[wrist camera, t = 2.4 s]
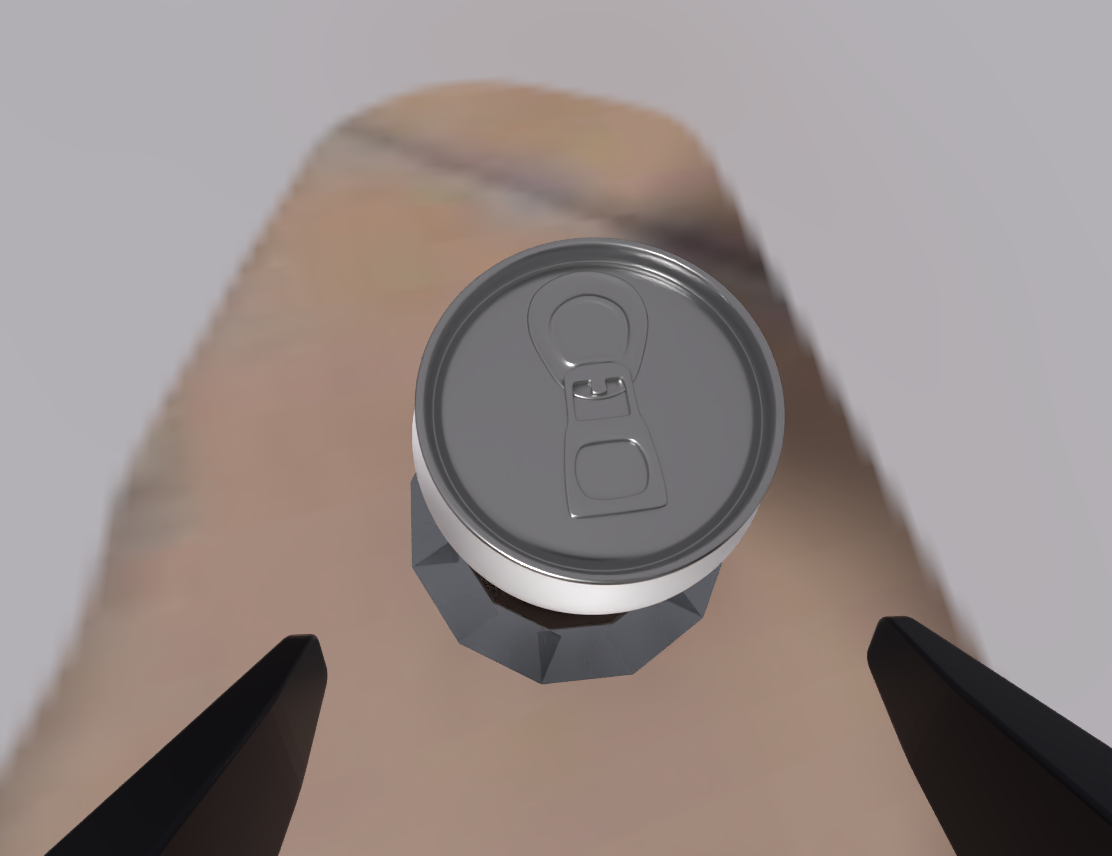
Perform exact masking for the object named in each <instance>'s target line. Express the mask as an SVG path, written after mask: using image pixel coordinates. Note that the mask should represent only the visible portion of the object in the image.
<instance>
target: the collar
mask: <svg viewBox="0 0 1112 856" xmlns="http://www.w3.org/2000/svg"><path fill="white" fill-rule="evenodd" d="M411 527H412V568H413V569H414V571H415V573H416V574H417V576H418V577H419V579H420V581H421V582H422V584H423V585H424V587H425V589H426V590H427V592H428V594H429V595H430V597H431V598H432V600H433V602H434V603H435V605H436V607H437V608H438V610H439V611H440V613H441V615H442V616H443V618H444V620H445V621H446V623H447V624H448V626H449V628H450V629H451V631H452V633H453V634H454V636H455V637H456V639H457V641H458V642H459V643H460V644H462V645H464V646H466V647H468V648H470V649H472V650H474V651H476V652H478V653H480V654H482V655H484V656H486V657H488V658H490V659H492V660H494V661H496V662H498V663H500V664H502V665H504V666H506V667H508V668H510V669H512V670H514V671H516V672H518V673H520V674H522V675H524V676H526V677H528V678H530V679H532V680H534V681H536V682H538V683H540V684H549V683H558V682H567V681H576V680H586V679H595V678H604V677H613V676H622V675H631V674H634V673H635V672H637V671H638V670H639V669H640V668H641V667H643V666H644V665H645V664H646V663H648V662H649V661H650V660H651V659H653V658H654V657H655V656H656V655H658V654H659V653H660V652H661V651H662V650H664V649H665V648H666V647H667V646H669V645H670V644H671V643H672V642H674V641H675V640H676V639H677V638H678V637H680V636H681V635H682V634H683V633H685V632H686V631H687V630H688V629H690V628H691V627H692V626H693V625H695V624H696V623H697V622H698V621H699V620H701V619H702V617H703V616H704V613H705V610H706V607H707V604H708V602H709V599H710V596H711V593H712V590H713V587H714V584H715V581H716V579H717V576H718V573H719V570H720V567H721V564H722V563H721V564H719V565H718V566H717V567H716V568H715V569H714V570H713V571H712V572H710V573H709V574H708V575H707V576H705V577H704V578H703V579H701V580H700V581H698V582H697V583H695V584H694V585H692V586H691V587H689V588H688V589H686V590H684V591H683V592H681V593H679V594H677V595H675V596H673V597H671V598H669V599H667V600H664V601H662V602H659V603H657V604H654V605H651V606H648V607H644V608H640V609H636V610H632V611H627V612H621V613H620V614H618V615H617V616H616V617H615V618H613V619H612V620H611V621H609V622H607V623H598V624H588V625H578V626H569V627H559V628H548V627H546V626H543V625H541V624H539V623H537V622H535V621H533V620H531V619H529V618H527V617H525V616H523V615H521V614H519V613H517V612H515V611H513V610H510V609H508V608H506V607H504V606H502V605H500V604H498V603H496V601H495V600H494V598H493V597H492V595H491V594H490V592H489V590H488V589H487V587H486V586H485V584H484V583H483V581H482V580H481V578H480V577H479V575H478V574H477V572H476V571H475V570H474V569H473V568H472V567H471V566H469V565H468V564H467V563H466V562H465V561H464V560H463V559H462V558H461V556H460V555H459V554H458V553H457V552H456V551H455V550H454V549H453V547H452V546H451V545H450V544H449V542H448V541H447V540H446V538H445V537H444V535H443V534H442V532H441V531H440V529H439V528H438V526H437V524H436V522H435V521H434V519H433V517H432V515H431V513H430V511H429V509H428V506H427V504H426V502H425V499H424V497H423V494H422V491H421V489H420V485H419V482H418V478H417V474H416V473H415V475H414V477H413V479H412V480H411Z"/></svg>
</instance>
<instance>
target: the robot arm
mask: <svg viewBox="0 0 1112 856" xmlns="http://www.w3.org/2000/svg"><path fill="white" fill-rule="evenodd" d="M867 661H868V665H869V668H870V671H871V673H872V676H873V678H874V680H875V683H876V685H877V688H878V690H879V693H880V695H881V698H882V700H883V702H884V705H885V707H886V710H887V712H888V715H889V717H890V719H891V722H892V724H893V727H894V729H895V732H896V734H897V736H898V739H899V741H900V744H901V746H902V749H903V751H904V753H905V755H906V758H907V760H908V762H909V764H910V766H911V768H912V770H913V772H914V774H915V776H916V778H917V780H918V782H919V784H920V786H921V788H922V790H923V792H924V794H925V796H926V798H927V800H928V801H929V803H930V805H931V807H932V809H933V811H934V813H935V815H936V817H937V819H938V821H939V822H940V824H941V826H942V828H943V830H944V832H945V834H946V836H947V838H948V840H949V842H950V844H951V845H952V847H953V849H954V851H955V853H956V855H957V856H1112V748H1111V747H1109V746H1108V745H1106V744H1105V743H1103V742H1101V741H1100V740H1098V739H1097V738H1095V737H1094V736H1092V735H1091V734H1089V733H1088V732H1086V731H1085V730H1083V729H1081V728H1080V727H1079V726H1077V725H1075V724H1074V723H1072V722H1071V721H1069V720H1068V719H1066V718H1065V717H1063V716H1062V715H1060V714H1058V713H1057V712H1056V711H1054V710H1052V709H1051V708H1049V707H1048V706H1046V705H1045V704H1043V703H1042V702H1040V701H1039V700H1037V699H1036V698H1034V697H1033V696H1031V695H1029V694H1028V693H1026V692H1025V691H1023V690H1022V689H1020V688H1019V687H1017V686H1016V685H1014V684H1013V683H1011V682H1009V681H1008V680H1006V679H1005V678H1003V677H1002V676H1000V675H999V674H997V673H996V672H994V671H993V670H991V669H990V668H988V667H986V666H985V665H983V664H982V663H980V662H979V661H977V660H976V659H974V658H973V657H971V656H970V655H968V654H967V653H965V652H963V651H962V650H960V649H959V648H957V647H956V646H954V645H953V644H951V643H950V642H948V641H947V640H945V639H943V638H942V637H940V636H939V635H937V634H936V633H934V632H933V631H931V630H930V629H928V628H927V627H925V626H924V625H922V624H920V623H919V622H917V621H916V620H914V619H912V618H910V617H907V616H890V617H883V618H882V619H880V620H879V622H878V624H877V626H876V629H875V632H874V634H873V637H872V640H871V643H870V645H869V648H868V651H867ZM326 684H327V667H326V664H325V660H324V657H323V654H322V650H321V647H320V643H319V640H318V638H317V637H316V636H315V635H313V634H298V635H289V636H287V637H286V638H284V639H283V640H282V641H281V642H280V643H278V644H277V645H276V646H275V647H274V648H273V649H272V650H271V651H270V652H268V653H267V654H266V655H265V656H264V657H263V658H262V659H261V660H260V661H259V662H257V663H256V664H255V665H254V666H253V667H252V668H251V669H250V670H249V671H247V672H246V673H245V674H244V675H243V676H242V677H241V678H240V679H239V680H237V681H236V682H235V683H234V684H233V685H232V686H231V687H230V688H229V689H228V690H226V691H225V692H224V693H223V694H222V695H221V696H220V697H219V698H218V699H216V700H215V701H214V702H213V703H212V704H211V705H210V706H209V707H208V708H207V709H205V710H204V711H203V712H202V713H201V714H200V715H199V716H198V717H197V718H195V719H194V720H193V721H192V722H191V723H190V724H189V725H188V726H187V727H186V728H184V729H183V730H182V731H181V732H180V733H179V734H178V735H177V736H176V737H174V738H173V739H172V740H171V741H170V742H169V743H168V744H167V745H166V746H164V747H163V748H162V749H161V750H160V751H159V752H158V753H157V754H156V755H155V756H153V757H152V758H151V759H150V760H149V761H148V762H147V763H146V764H145V765H143V766H142V767H141V768H140V769H139V770H138V771H137V772H136V773H135V774H134V775H132V776H131V777H130V778H129V779H128V780H127V781H126V782H125V783H124V784H122V785H121V786H120V787H119V788H118V789H117V790H116V791H115V792H114V793H112V794H111V795H110V796H109V797H108V798H107V799H106V800H105V801H104V802H103V803H101V804H100V805H99V806H98V807H97V808H96V809H95V810H94V811H93V812H91V813H90V814H89V815H88V816H87V817H86V818H85V819H84V820H83V821H82V822H80V823H79V824H78V825H77V826H76V827H75V828H74V829H73V830H72V831H70V832H69V833H68V834H67V835H66V836H65V837H64V838H63V839H62V840H61V841H59V842H58V843H57V844H56V845H55V846H54V847H53V848H52V849H51V850H49V851H48V852H47V853H46V854H45V855H44V856H278V855H279V852H280V849H281V846H282V843H283V840H284V837H285V835H286V832H287V829H288V826H289V823H290V820H291V817H292V814H293V812H294V809H295V806H296V803H297V800H298V796H299V793H300V790H301V787H302V783H303V779H304V776H305V772H306V768H307V764H308V759H309V755H310V751H311V747H312V743H313V739H314V735H315V730H316V726H317V722H318V718H319V714H320V710H321V705H322V701H323V697H324V693H325V689H326Z"/></svg>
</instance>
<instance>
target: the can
mask: <svg viewBox="0 0 1112 856" xmlns="http://www.w3.org/2000/svg"><path fill="white" fill-rule="evenodd" d="M784 426H785V408H784V397H783V390H782V385H781V380H780V376H779V372H778V369H777V365H776V363H775V360H774V357H773V355H772V352H771V350H770V347H769V345H768V343H767V341H766V339H765V337H764V336H763V334H762V332H761V330H760V329H759V327H758V325H757V324H756V322H755V321H754V319H753V318H752V317H751V315H750V314H749V313H748V311H747V310H746V309H745V308H744V306H743V305H742V304H741V303H740V302H739V301H738V300H737V299H736V298H735V296H734V295H733V294H732V293H730V292H729V291H728V290H727V289H726V288H725V287H724V286H723V285H722V284H721V283H719V282H718V281H717V280H716V279H714V278H713V277H712V276H710V275H709V274H708V273H706V272H705V271H703V270H702V269H700V268H698V267H697V266H695V265H693V264H692V263H690V262H688V261H686V260H684V259H682V258H680V257H678V256H676V255H674V254H672V253H669V252H667V251H664V250H661V249H658V248H656V247H652V246H649V245H645V244H642V243H637V242H633V241H627V240H621V239H612V238H575V239H567V240H560V241H555V242H550V243H546V244H542V245H539V246H536V247H533V248H530V249H527V250H524V251H522V252H519V253H517V254H515V255H513V256H511V257H509V258H507V259H505V260H503V261H501V262H499V263H498V264H496V265H494V266H493V267H491V268H490V269H488V270H487V271H485V272H484V273H482V274H481V275H480V276H478V277H477V278H476V279H475V280H474V281H472V282H471V283H470V284H469V285H468V286H467V287H466V288H465V289H464V290H463V291H462V292H461V293H460V294H459V295H458V296H457V297H456V298H455V299H454V301H453V302H452V303H451V304H450V305H449V307H448V308H447V309H446V311H445V312H444V314H443V315H442V317H441V318H440V320H439V321H438V323H437V325H436V326H435V328H434V330H433V332H432V334H431V336H430V338H429V340H428V343H427V345H426V348H425V350H424V353H423V356H422V359H421V363H420V367H419V371H418V376H417V382H416V390H415V410H414V417H413V428H412V446H413V457H414V464H415V470H416V474H417V478H418V482H419V485H420V489H421V491H422V494H423V497H424V499H425V502H426V504H427V506H428V509H429V511H430V513H431V515H432V517H433V519H434V521H435V522H436V524H437V526H438V528H439V529H440V531H441V532H442V534H443V535H444V537H445V538H446V540H447V541H448V542H449V544H450V545H451V546H452V547H453V549H454V550H455V551H456V552H457V553H458V554H459V555H460V556H461V558H462V559H463V560H464V561H465V562H466V563H467V564H468V565H469V566H471V567H472V568H473V569H474V570H475V571H476V572H478V573H479V574H480V575H481V576H482V577H484V578H485V579H486V580H488V581H489V582H490V583H492V584H493V585H495V586H496V587H498V588H500V589H501V590H503V591H505V592H506V593H508V594H510V595H512V596H514V597H516V598H518V599H520V600H523V601H525V602H527V603H530V604H533V605H535V606H538V607H542V608H545V609H549V610H553V611H558V612H564V613H571V614H583V615H601V614H613V613H621V612H627V611H632V610H636V609H640V608H644V607H648V606H651V605H654V604H657V603H659V602H662V601H664V600H667V599H669V598H671V597H673V596H675V595H677V594H679V593H681V592H683V591H684V590H686V589H688V588H689V587H691V586H692V585H694V584H695V583H697V582H698V581H700V580H701V579H703V578H704V577H705V576H707V575H708V574H709V573H710V572H712V571H713V570H714V569H715V568H716V567H717V566H718V565H719V564H721V563H722V562H723V560H724V559H725V558H726V557H727V556H728V555H729V554H730V553H731V552H732V551H733V549H734V548H735V547H736V546H737V544H738V543H739V542H740V540H741V539H742V537H743V536H744V534H745V533H746V531H747V529H748V528H749V526H750V524H751V522H752V521H753V518H754V516H755V514H756V512H757V510H758V507H759V505H760V502H761V501H762V499H763V497H764V495H765V493H766V492H767V490H768V488H769V486H770V483H771V481H772V479H773V476H774V474H775V471H776V468H777V465H778V462H779V458H780V454H781V450H782V444H783V437H784Z"/></svg>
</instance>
